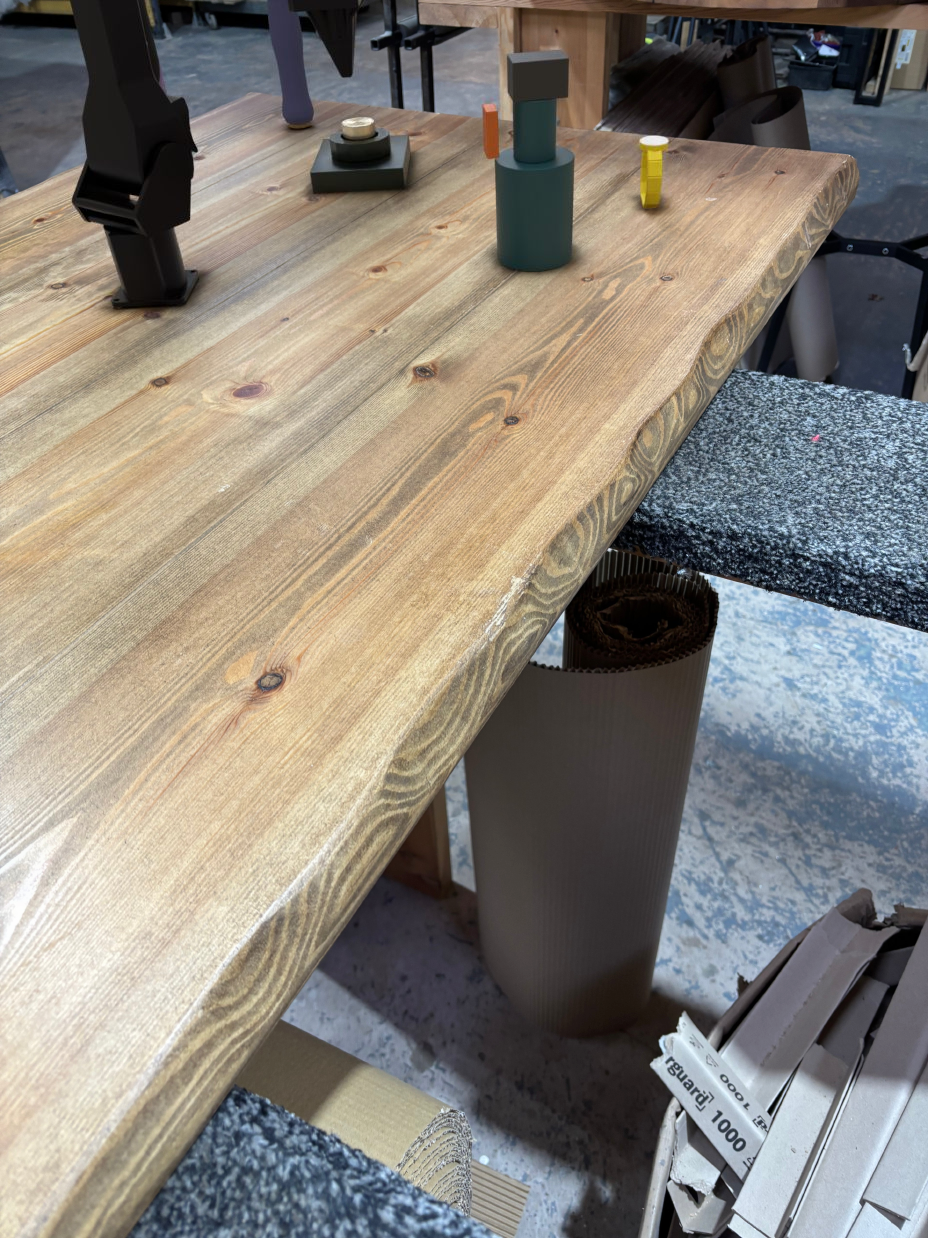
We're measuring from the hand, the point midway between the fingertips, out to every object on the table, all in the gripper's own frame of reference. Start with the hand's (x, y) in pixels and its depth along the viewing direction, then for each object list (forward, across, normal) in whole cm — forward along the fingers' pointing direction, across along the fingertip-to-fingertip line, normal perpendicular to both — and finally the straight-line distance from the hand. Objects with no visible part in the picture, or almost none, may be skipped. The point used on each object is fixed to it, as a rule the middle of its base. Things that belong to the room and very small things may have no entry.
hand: (347, 76), depth 93 cm
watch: (+11, -8, -30) cm, 33 cm away
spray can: (+11, +16, +26) cm, 33 cm away
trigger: (+2, -20, -14) cm, 25 cm away
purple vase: (+12, +26, +11) cm, 30 cm away
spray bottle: (+11, -20, -18) cm, 29 cm away
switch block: (+11, +6, 0) cm, 13 cm away
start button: (+8, +6, 0) cm, 10 cm away
